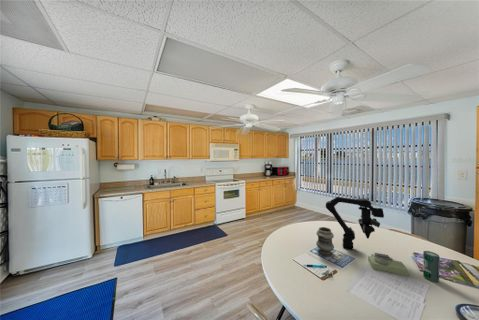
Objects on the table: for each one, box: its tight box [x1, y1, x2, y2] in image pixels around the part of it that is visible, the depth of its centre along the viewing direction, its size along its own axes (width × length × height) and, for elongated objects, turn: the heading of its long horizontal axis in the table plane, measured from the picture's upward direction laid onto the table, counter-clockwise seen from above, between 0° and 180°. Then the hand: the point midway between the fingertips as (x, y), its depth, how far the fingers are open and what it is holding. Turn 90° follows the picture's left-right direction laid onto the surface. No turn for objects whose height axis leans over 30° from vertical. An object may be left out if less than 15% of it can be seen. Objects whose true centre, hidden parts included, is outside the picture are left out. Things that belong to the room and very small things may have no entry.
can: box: [422, 250, 441, 283], centre depth 101 cm, size 6×6×15 cm
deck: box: [367, 254, 409, 277], centre depth 114 cm, size 18×14×4 cm
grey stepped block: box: [374, 252, 391, 259], centre depth 119 cm, size 7×5×4 cm
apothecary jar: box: [316, 226, 335, 257], centre depth 130 cm, size 12×12×18 cm
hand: (365, 235), depth 131 cm, fingers open, 9 cm apart
